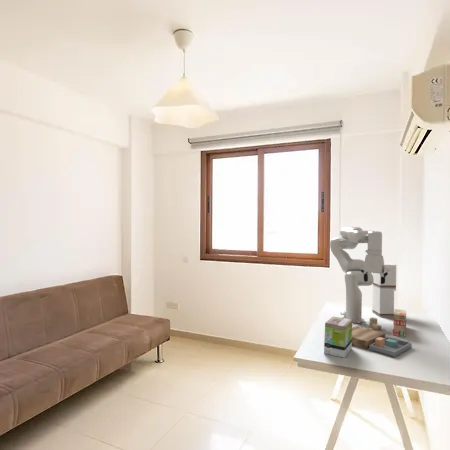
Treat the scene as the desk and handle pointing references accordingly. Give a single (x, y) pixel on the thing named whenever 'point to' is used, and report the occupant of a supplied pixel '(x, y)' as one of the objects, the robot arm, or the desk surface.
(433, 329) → the desk surface
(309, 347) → the desk surface
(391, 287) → the tall white pillar
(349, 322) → the tea box
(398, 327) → the stack of blocks
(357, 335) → the brown wooden board
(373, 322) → the scraper
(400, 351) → the box
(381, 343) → the terracotta tile
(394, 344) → the teal block
